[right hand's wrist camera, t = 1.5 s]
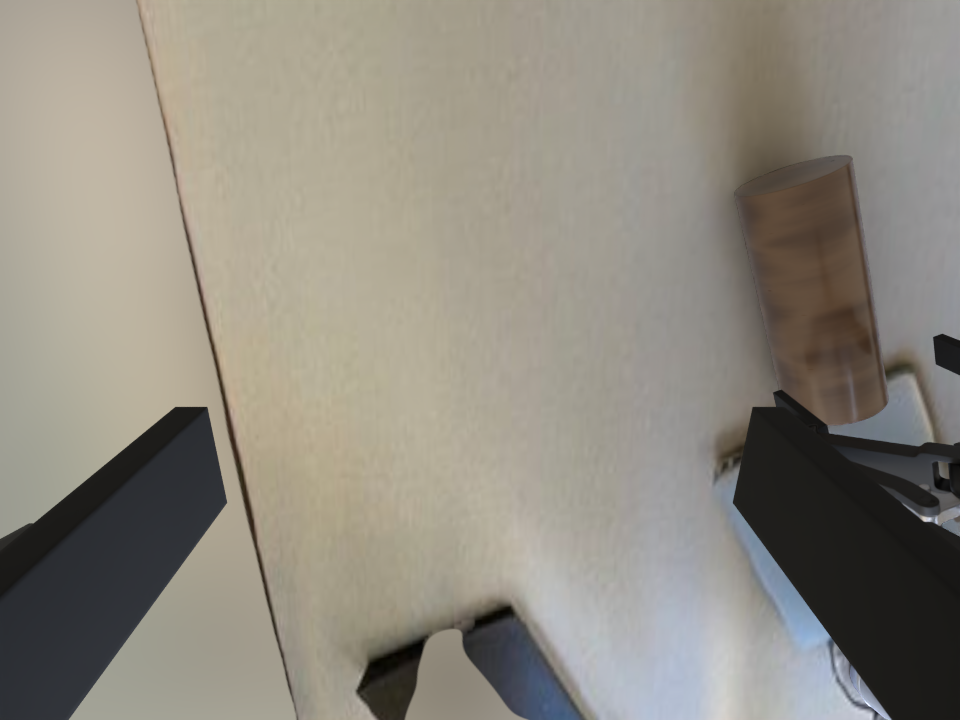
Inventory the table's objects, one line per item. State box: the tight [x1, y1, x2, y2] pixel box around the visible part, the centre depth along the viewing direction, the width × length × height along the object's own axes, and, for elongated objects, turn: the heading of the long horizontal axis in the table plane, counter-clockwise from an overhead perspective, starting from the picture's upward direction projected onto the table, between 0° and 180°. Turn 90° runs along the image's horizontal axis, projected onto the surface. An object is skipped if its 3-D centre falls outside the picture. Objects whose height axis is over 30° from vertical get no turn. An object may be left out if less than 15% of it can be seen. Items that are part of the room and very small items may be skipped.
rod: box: [734, 155, 889, 425], centre depth 48 cm, size 23×9×9 cm, turn 22°
